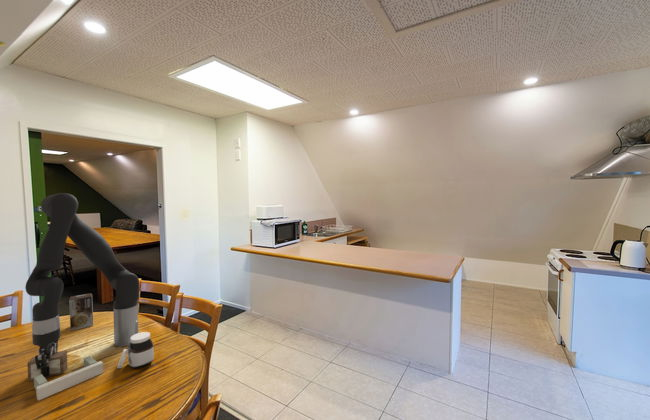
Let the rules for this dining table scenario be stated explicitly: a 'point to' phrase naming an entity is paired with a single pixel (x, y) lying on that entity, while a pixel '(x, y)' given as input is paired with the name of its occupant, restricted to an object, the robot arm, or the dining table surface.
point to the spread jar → (138, 351)
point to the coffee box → (81, 311)
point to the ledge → (67, 379)
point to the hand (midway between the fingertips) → (48, 372)
